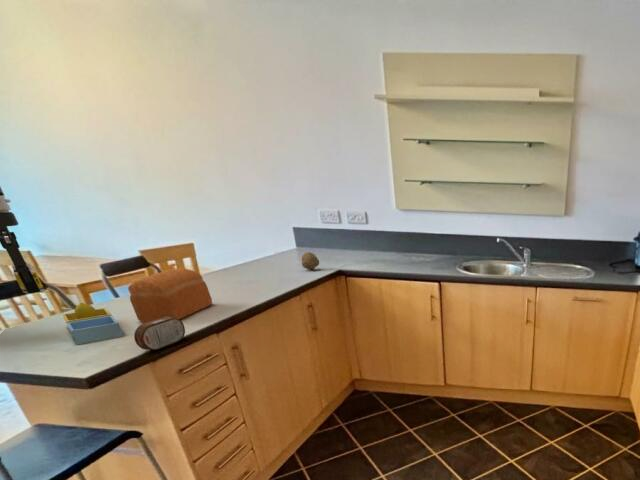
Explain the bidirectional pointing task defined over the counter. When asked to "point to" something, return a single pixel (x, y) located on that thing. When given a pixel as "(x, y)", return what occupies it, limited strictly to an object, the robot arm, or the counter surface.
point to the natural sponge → (309, 261)
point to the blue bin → (95, 329)
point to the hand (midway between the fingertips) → (33, 290)
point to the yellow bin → (101, 313)
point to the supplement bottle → (33, 277)
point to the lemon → (85, 311)
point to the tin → (159, 333)
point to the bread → (169, 295)
